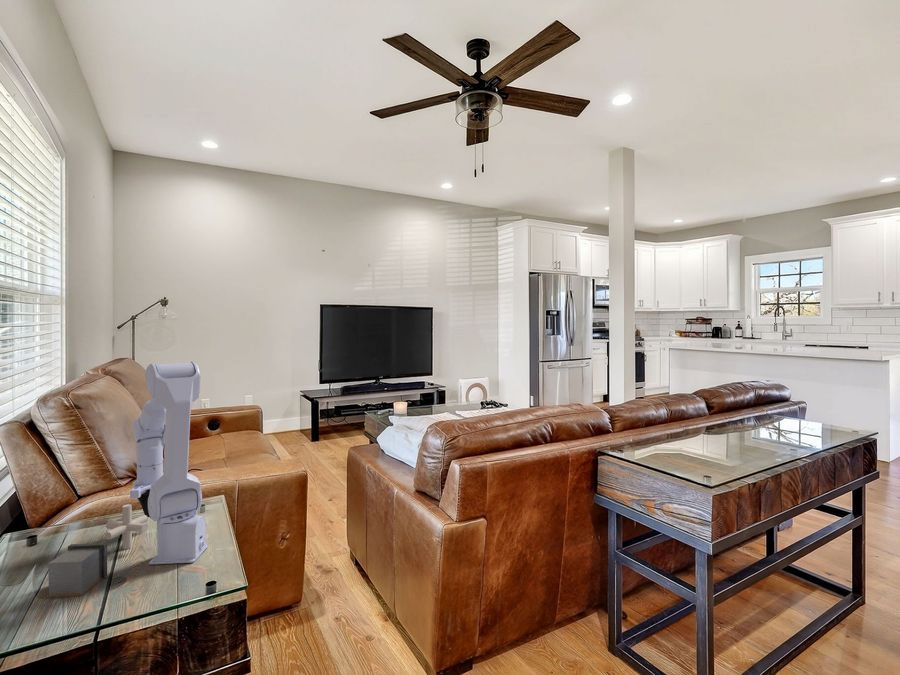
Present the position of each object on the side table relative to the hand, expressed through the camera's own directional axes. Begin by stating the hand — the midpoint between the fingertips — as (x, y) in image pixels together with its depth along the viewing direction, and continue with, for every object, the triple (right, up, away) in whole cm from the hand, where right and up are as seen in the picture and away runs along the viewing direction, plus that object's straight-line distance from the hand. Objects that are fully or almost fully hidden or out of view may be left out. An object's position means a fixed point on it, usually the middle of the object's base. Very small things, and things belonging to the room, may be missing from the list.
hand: (150, 516), depth 122 cm
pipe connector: (+1, -4, -10) cm, 11 cm away
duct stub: (+2, -4, -27) cm, 28 cm away
